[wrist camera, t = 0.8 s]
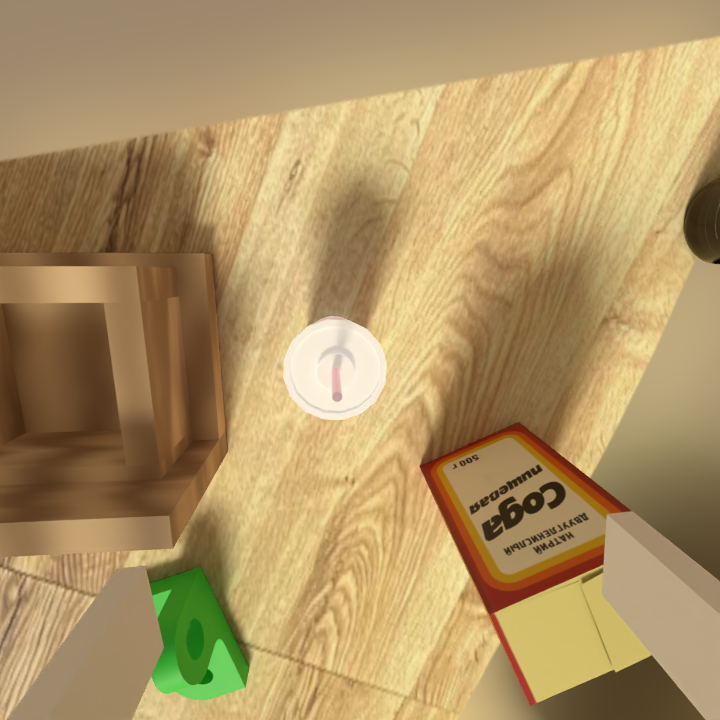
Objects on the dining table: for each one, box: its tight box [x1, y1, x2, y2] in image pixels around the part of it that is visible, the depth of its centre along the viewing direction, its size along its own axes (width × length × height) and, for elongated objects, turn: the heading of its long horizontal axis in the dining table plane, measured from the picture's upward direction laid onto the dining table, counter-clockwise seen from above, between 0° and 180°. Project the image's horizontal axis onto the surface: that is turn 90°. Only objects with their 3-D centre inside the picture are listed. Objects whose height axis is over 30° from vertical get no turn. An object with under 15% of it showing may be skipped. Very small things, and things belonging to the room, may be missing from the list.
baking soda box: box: [420, 422, 663, 705], centre depth 28 cm, size 10×6×16 cm
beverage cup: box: [283, 316, 387, 420], centre depth 25 cm, size 6×6×14 cm
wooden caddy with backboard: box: [0, 253, 227, 557], centre depth 25 cm, size 18×16×12 cm
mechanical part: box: [149, 567, 249, 700], centre depth 33 cm, size 12×6×8 cm, turn 17°
